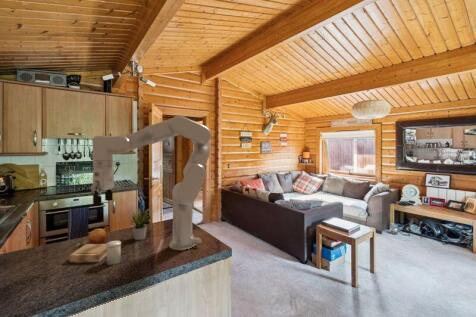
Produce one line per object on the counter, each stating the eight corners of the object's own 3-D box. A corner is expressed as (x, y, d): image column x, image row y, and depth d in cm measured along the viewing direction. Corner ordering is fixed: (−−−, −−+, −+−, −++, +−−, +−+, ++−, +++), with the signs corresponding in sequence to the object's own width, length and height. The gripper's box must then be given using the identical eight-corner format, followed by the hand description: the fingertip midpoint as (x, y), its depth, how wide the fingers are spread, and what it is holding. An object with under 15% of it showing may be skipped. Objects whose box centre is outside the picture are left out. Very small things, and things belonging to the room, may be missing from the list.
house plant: (158, 233, 140) (158, 204, 140) (153, 242, 127) (153, 210, 126) (132, 233, 138) (132, 204, 138) (124, 243, 125) (124, 211, 124)
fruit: (112, 236, 130) (107, 226, 125) (103, 249, 123) (98, 238, 119) (97, 235, 131) (92, 225, 126) (88, 248, 124) (82, 238, 120)
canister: (123, 258, 107) (123, 240, 107) (117, 265, 102) (117, 245, 102) (110, 259, 107) (109, 240, 107) (103, 265, 102) (103, 245, 101)
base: (111, 250, 116) (111, 243, 116) (99, 262, 104) (99, 254, 104) (85, 250, 115) (85, 243, 115) (69, 262, 103) (69, 254, 103)
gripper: (101, 165, 100) (101, 207, 101) (120, 163, 117) (120, 198, 118) (82, 165, 100) (82, 207, 100) (104, 162, 117) (104, 198, 118)
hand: (103, 202), depth 109 cm, fingers open, 9 cm apart
